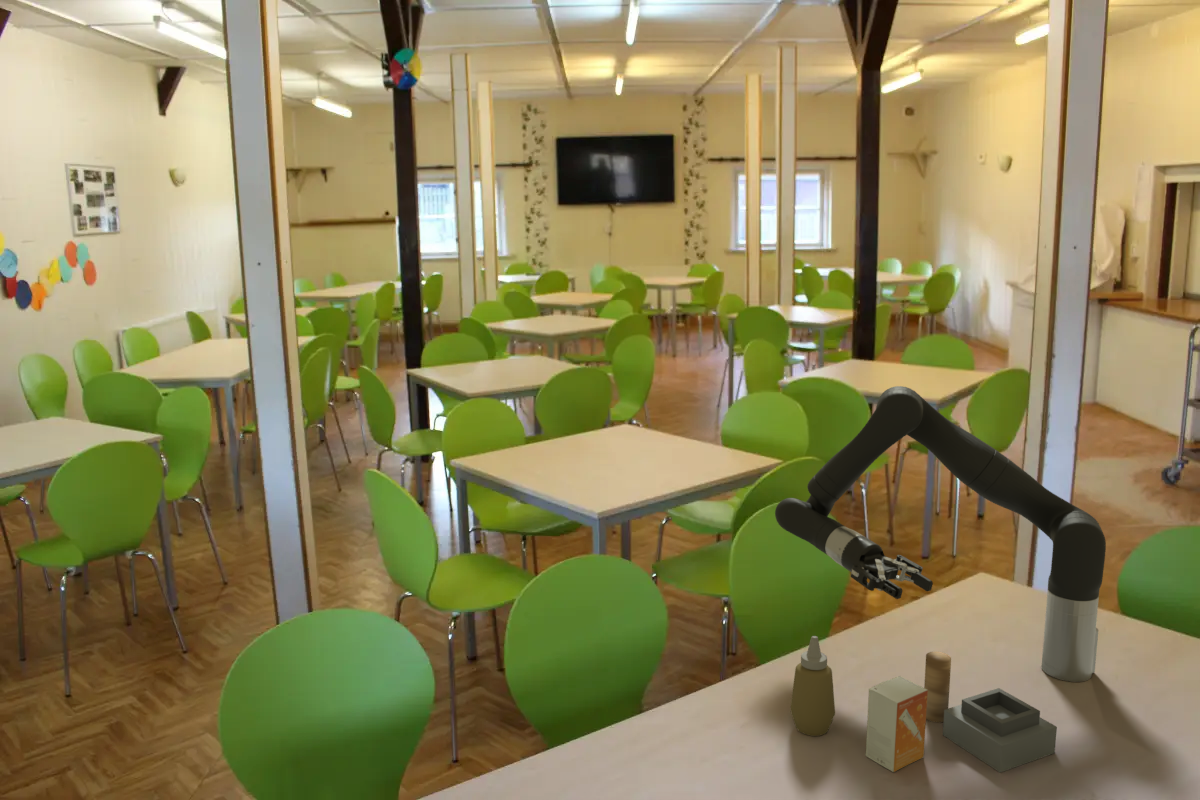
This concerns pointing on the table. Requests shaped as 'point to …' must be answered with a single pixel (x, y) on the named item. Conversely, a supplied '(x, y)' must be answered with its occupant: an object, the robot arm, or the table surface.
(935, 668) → the cardboard roll
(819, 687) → the squeeze bottle
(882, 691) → the small box
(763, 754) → the table surface
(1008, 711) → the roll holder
